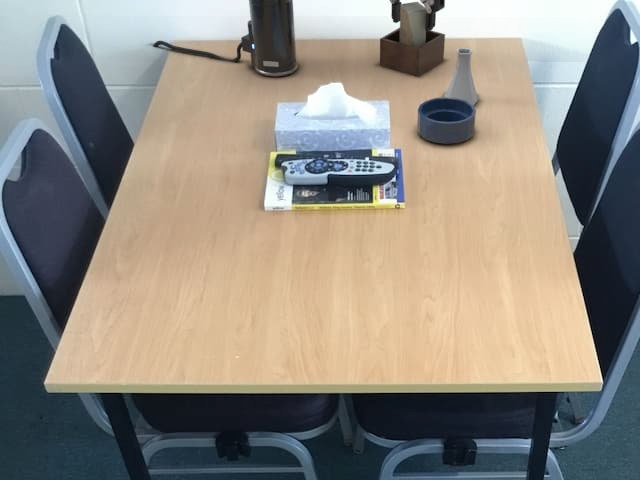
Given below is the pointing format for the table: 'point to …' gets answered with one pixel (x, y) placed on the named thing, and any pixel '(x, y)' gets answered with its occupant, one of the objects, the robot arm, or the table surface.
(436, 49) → the box
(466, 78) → the flask
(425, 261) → the table surface
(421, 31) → the box
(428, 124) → the bowl
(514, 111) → the table surface
